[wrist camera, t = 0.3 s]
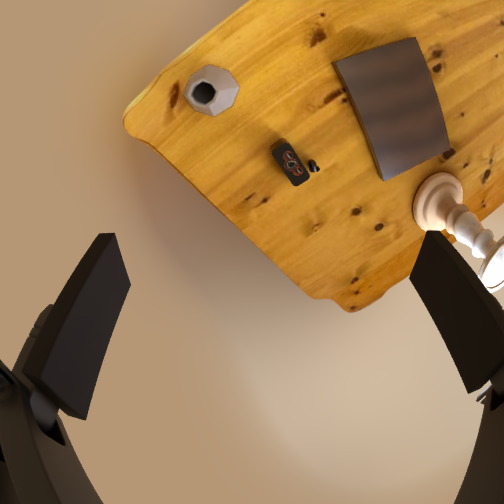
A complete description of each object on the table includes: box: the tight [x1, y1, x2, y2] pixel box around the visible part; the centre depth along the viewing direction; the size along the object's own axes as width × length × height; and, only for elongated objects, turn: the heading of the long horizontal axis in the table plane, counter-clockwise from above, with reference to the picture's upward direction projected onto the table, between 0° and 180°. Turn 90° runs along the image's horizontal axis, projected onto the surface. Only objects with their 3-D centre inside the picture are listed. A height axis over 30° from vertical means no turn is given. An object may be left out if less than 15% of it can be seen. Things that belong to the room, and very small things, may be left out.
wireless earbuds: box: [270, 138, 320, 186], centre depth 38 cm, size 5×7×3 cm, turn 35°
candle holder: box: [413, 172, 504, 293], centre depth 36 cm, size 12×12×20 cm
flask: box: [183, 64, 240, 117], centre depth 29 cm, size 7×7×10 cm
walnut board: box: [332, 37, 451, 181], centre depth 34 cm, size 20×15×2 cm
